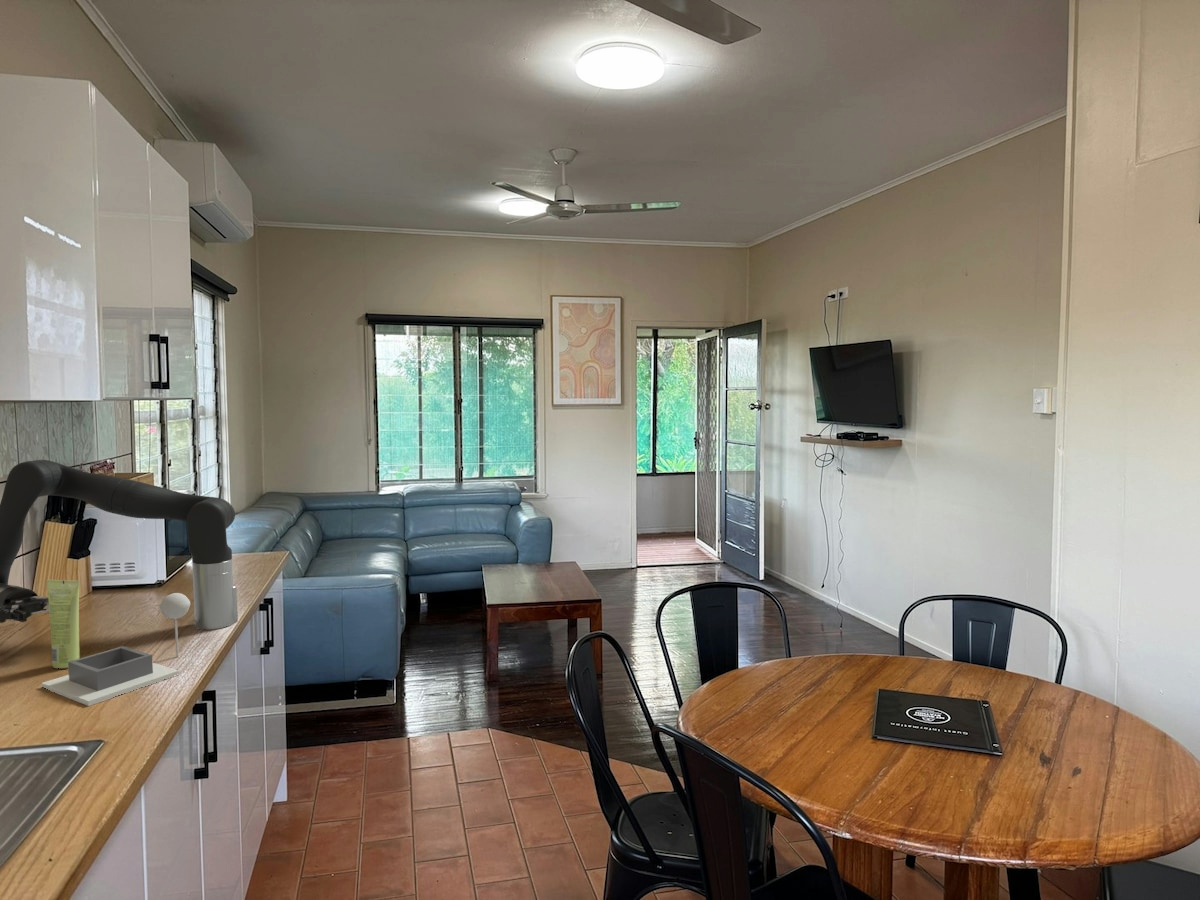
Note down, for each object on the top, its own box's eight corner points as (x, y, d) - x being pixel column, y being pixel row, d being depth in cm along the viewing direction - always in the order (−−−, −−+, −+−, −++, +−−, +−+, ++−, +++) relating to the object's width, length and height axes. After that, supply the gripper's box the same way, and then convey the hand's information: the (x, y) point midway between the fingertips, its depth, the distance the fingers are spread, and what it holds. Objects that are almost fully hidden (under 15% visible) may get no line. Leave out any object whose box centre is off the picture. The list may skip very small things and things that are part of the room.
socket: (131, 659, 169) (130, 638, 169) (178, 675, 161) (177, 652, 160) (41, 687, 154) (40, 664, 153) (88, 706, 145) (87, 681, 144)
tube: (82, 658, 170) (77, 575, 168) (84, 665, 166) (79, 580, 164) (51, 664, 166) (46, 579, 164) (52, 671, 162) (47, 584, 160)
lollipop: (161, 663, 167) (158, 598, 166) (162, 654, 173) (159, 591, 171) (192, 658, 170) (189, 595, 169) (192, 650, 175) (190, 588, 174)
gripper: (-26, 593, 170) (8, 604, 162) (45, 579, 182) (80, 588, 174) (-24, 625, 171) (11, 637, 163) (46, 609, 183) (81, 619, 175)
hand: (46, 612), depth 169 cm, fingers open, 8 cm apart
